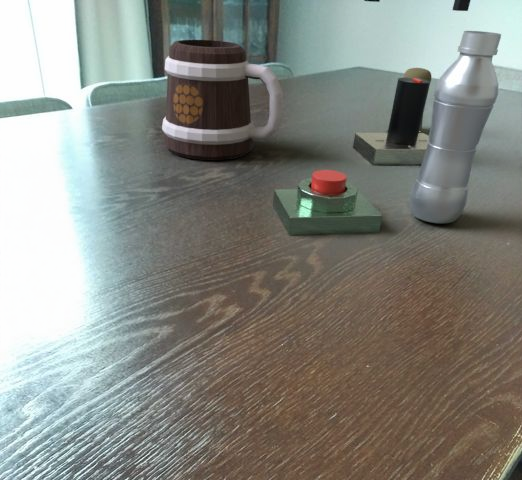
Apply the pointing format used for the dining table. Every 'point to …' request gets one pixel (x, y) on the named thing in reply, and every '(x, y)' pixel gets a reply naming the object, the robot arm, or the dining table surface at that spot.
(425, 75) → the cork
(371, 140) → the base
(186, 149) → the mug
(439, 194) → the plastic bottle
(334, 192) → the button
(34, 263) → the dining table surface
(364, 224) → the button box
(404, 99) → the black battery
